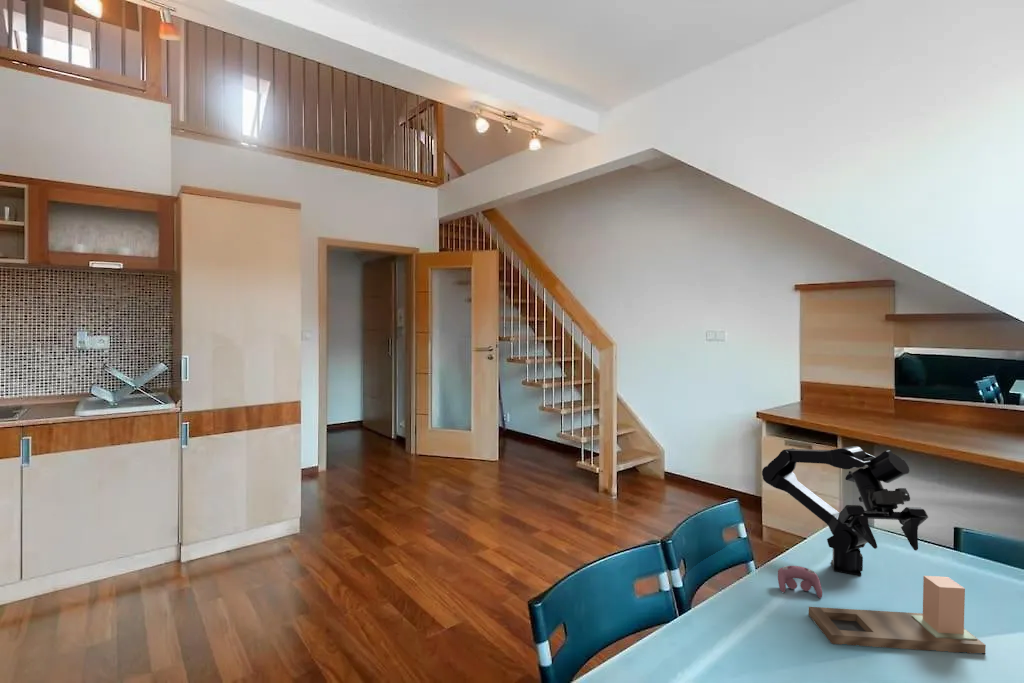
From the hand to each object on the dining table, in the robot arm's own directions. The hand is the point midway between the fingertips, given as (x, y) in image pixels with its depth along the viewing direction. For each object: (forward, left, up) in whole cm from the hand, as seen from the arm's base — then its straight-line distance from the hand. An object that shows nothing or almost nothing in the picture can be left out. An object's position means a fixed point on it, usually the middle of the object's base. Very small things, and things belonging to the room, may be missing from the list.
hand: (896, 549), depth 125 cm
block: (+6, -12, -11) cm, 18 cm away
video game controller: (-21, -4, -14) cm, 25 cm away
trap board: (-2, -15, -14) cm, 21 cm away
